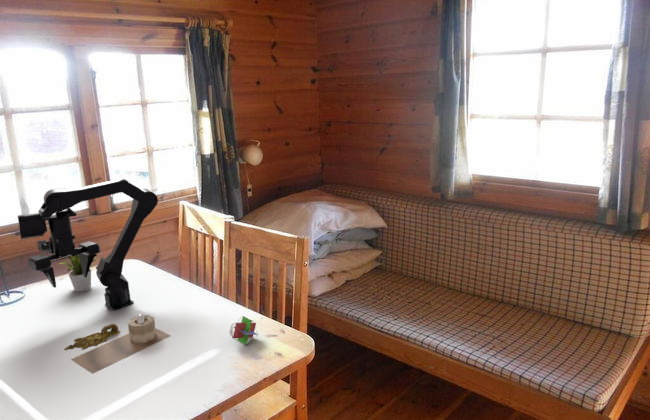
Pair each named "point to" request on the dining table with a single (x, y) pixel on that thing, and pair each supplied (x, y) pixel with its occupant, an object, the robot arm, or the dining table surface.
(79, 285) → the house plant
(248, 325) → the geometric puzzle
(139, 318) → the steel post
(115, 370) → the dining table surface
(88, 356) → the board
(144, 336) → the beech bead
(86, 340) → the olive gold carved ornament
